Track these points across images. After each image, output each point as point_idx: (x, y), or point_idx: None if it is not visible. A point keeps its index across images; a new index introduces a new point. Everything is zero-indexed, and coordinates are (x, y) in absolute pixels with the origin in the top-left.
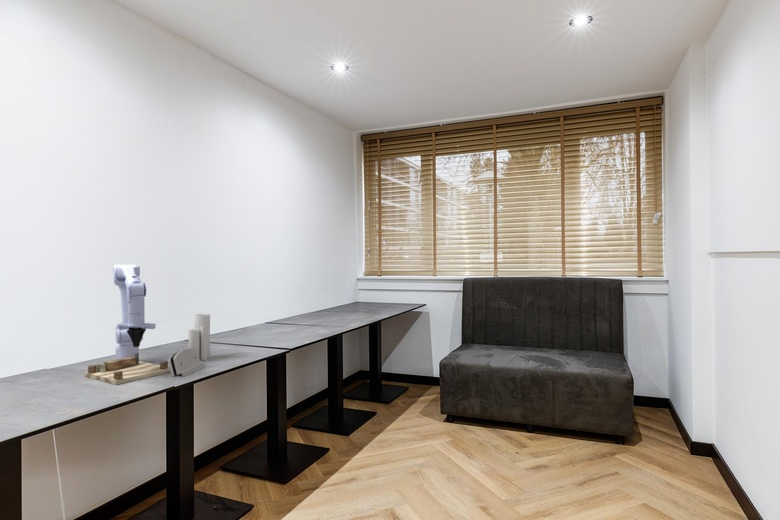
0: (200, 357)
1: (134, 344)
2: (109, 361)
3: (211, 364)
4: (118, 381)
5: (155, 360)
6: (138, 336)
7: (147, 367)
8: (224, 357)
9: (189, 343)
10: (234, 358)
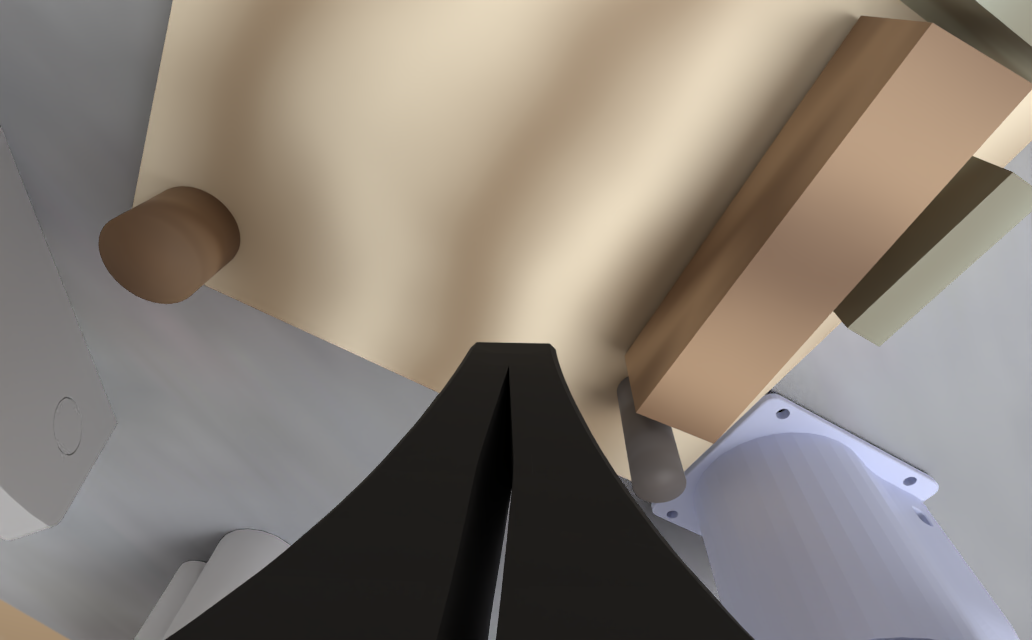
0: None
1: (515, 369)
2: (947, 171)
3: None
4: None
5: None
6: (304, 557)
7: (424, 261)
8: (115, 626)
9: None
10: (16, 605)
